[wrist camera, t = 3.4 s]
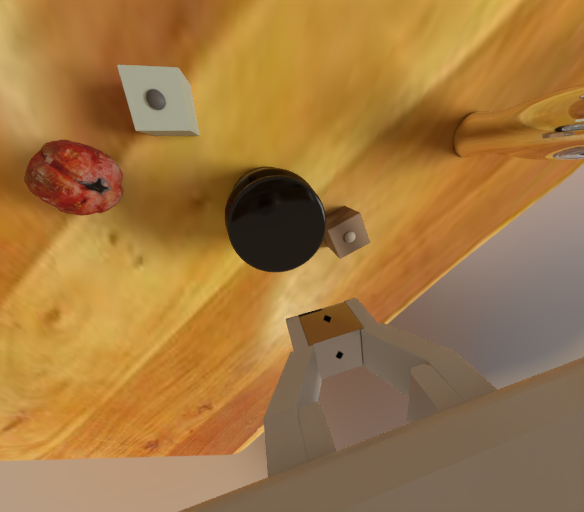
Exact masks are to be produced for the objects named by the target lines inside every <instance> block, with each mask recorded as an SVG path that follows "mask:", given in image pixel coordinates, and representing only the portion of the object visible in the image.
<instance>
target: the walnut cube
mask: <svg viewBox="0 0 584 512" xmlns="http://www.w3.org/2000/svg"><path fill="white" fill-rule="evenodd" d="M324 238H325V241H326V243H327V245H328V247H329V248H330V249H331V250H332V251H333V252H334V253H335V254H336V255H337V256H338V257H339V258H340V259H341V258H343V257H344V256H346V255H348V254H350V253H352V252H354V251H356V250H357V249H359V248H361V247H363V246H365V245H367V244H368V243H370V241H369V238H368V235H367V232H366V229H365V226H364V223H363V220H362V217H361V214H360V213H359V212H357V211H355V210H353V209H350V208H348V207H346V206H344V207H342V208H340V209H338V210H337V211H335V212H333V213H331V214H329V215H328V216H326V230H325V235H324Z"/></svg>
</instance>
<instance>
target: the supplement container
mask: <svg viewBox="0 0 584 512" xmlns="http://www.w3.org/2000/svg"><path fill="white" fill-rule="evenodd" d="M225 224H226V229H227V232H228V235H229V239H230V242H231V244H232V246H233V248H234V250H235V251H236V253H237V254H238V255H239V257H240V258H241V259H242V260H244V261H245V262H246V263H247V264H249V265H250V266H252V267H254V268H257V269H259V270H262V271H267V272H284V271H289V270H292V269H295V268H297V267H299V266H301V265H302V264H304V263H305V262H307V261H308V260H309V259H310V258H311V257H312V256H313V255H314V254H315V253H316V252H317V250H318V249H319V247H320V245H321V243H322V241H323V238H324V235H325V230H326V215H325V210H324V207H323V204H322V202H321V200H320V199H319V197H318V195H317V194H316V193H315V192H314V191H313V189H312V188H311V186H310V185H309V184H308V183H307V182H306V181H305V180H304V179H303V178H302V177H300V176H299V175H297V174H295V173H293V172H291V171H288V170H285V169H280V168H274V167H260V168H256V169H253V170H251V171H249V172H247V173H245V174H244V175H243V176H242V177H241V178H240V179H239V180H238V181H237V182H236V184H235V186H234V188H233V190H232V192H231V193H230V195H229V198H228V200H227V203H226V208H225Z"/></svg>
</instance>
